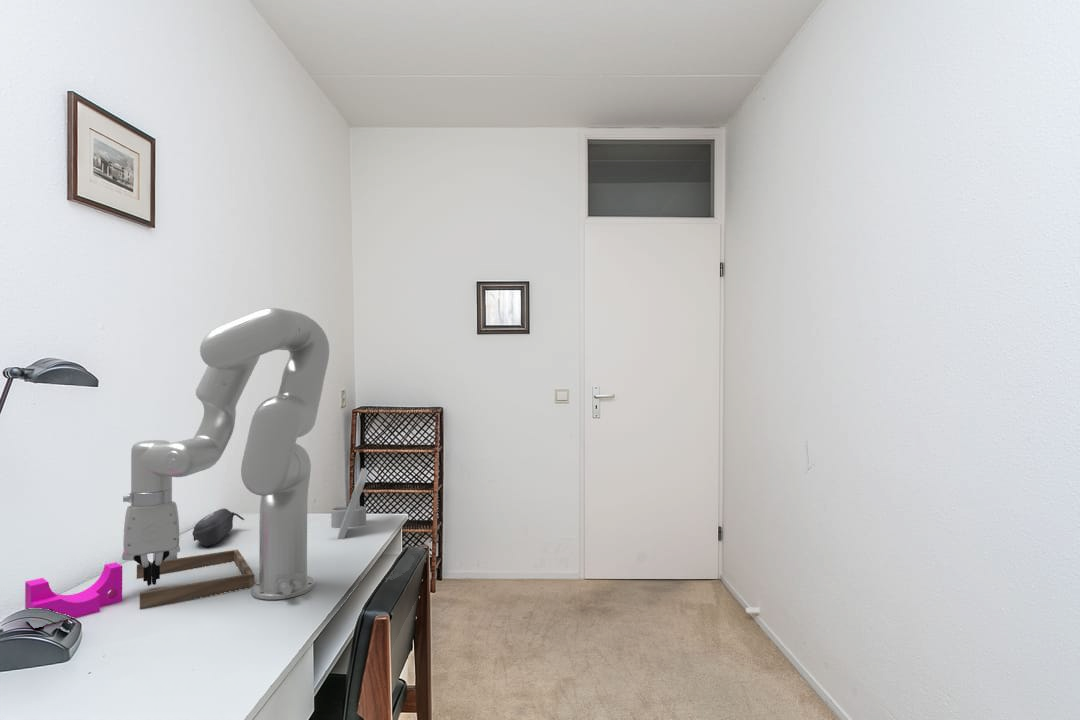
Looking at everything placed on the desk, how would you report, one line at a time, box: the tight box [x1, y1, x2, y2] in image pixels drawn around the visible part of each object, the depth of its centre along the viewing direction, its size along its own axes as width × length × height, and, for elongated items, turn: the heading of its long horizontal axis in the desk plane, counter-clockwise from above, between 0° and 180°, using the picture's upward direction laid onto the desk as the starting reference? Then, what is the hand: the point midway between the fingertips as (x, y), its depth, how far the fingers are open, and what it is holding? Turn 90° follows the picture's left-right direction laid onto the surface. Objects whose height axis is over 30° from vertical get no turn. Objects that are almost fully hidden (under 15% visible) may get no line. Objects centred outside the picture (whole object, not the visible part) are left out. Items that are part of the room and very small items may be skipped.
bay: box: [136, 549, 255, 610], centre depth 140 cm, size 22×21×3 cm
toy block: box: [24, 561, 123, 619], centre depth 124 cm, size 15×6×8 cm, turn 141°
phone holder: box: [330, 467, 368, 540], centre depth 179 cm, size 17×10×18 cm, turn 15°
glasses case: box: [192, 508, 245, 548], centre depth 173 cm, size 18×10×8 cm, turn 12°
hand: (151, 583), depth 136 cm, fingers closed
